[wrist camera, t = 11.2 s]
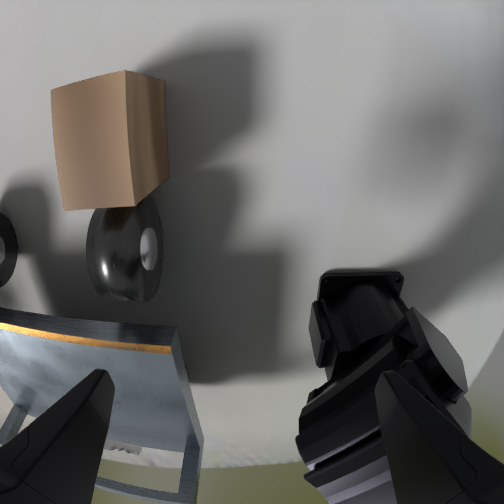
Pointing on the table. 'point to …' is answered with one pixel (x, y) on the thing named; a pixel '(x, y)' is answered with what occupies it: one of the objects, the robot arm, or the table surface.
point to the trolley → (107, 350)
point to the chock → (110, 139)
